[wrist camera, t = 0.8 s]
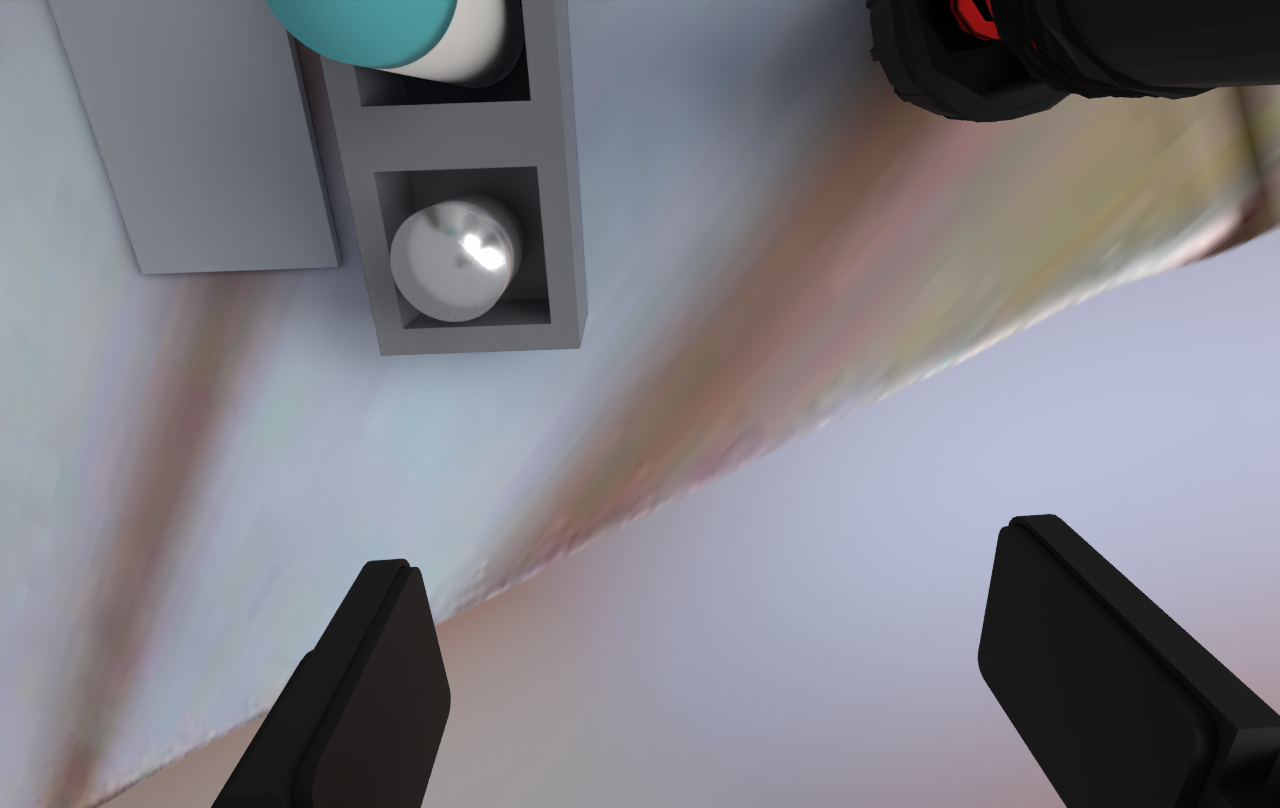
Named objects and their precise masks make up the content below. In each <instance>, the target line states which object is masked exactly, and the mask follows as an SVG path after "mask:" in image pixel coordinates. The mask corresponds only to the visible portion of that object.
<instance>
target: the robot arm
mask: <svg viewBox="0 0 1280 808" xmlns="http://www.w3.org/2000/svg"><path fill="white" fill-rule="evenodd" d="M978 664H979V669H980V672H981V674H982V677H983V678H984V680H985V682H986V683H987V685H988V687H989V688H990V690H991V691H992V693H993V694H994V696H995V697H996V699H997V700H998V702H999V704H1000V705H1001V706H1002V708H1003V710H1004V711H1005V713H1006V714H1007V716H1008V717H1009V719H1010V720H1011V722H1012V724H1013V725H1014V727H1015V728H1016V730H1017V731H1018V733H1019V734H1020V736H1021V737H1022V739H1023V741H1024V742H1025V744H1026V745H1027V747H1028V748H1029V750H1030V751H1031V753H1032V755H1033V756H1034V758H1035V759H1036V761H1037V762H1038V764H1039V765H1040V767H1041V768H1042V770H1043V771H1044V773H1045V774H1046V776H1047V778H1048V779H1049V781H1050V782H1051V784H1052V785H1053V787H1054V788H1055V790H1056V791H1057V793H1058V795H1059V796H1060V798H1061V799H1062V801H1063V802H1064V804H1065V805H1066V807H1067V808H1280V715H1278V714H1277V713H1276V712H1275V711H1274V710H1273V709H1272V708H1271V707H1270V706H1268V705H1267V704H1266V703H1265V702H1264V701H1263V700H1262V699H1261V698H1260V697H1258V696H1257V695H1256V694H1255V693H1254V692H1253V691H1252V690H1251V689H1250V688H1248V687H1247V686H1246V685H1245V684H1244V683H1243V682H1242V681H1241V680H1240V679H1238V678H1237V677H1236V676H1235V675H1234V674H1233V673H1232V672H1231V671H1230V670H1228V669H1227V668H1226V667H1225V666H1224V665H1223V664H1222V663H1221V662H1220V661H1218V660H1217V659H1216V658H1215V657H1214V656H1213V655H1212V654H1211V653H1210V652H1208V651H1207V650H1206V649H1205V648H1204V647H1203V646H1202V645H1201V644H1200V643H1198V642H1197V641H1196V640H1195V639H1194V638H1193V637H1192V636H1191V635H1189V634H1188V633H1187V632H1186V631H1185V630H1184V629H1183V628H1182V627H1181V626H1180V625H1178V624H1177V623H1176V622H1175V621H1174V620H1173V619H1172V618H1171V617H1169V616H1168V615H1167V614H1166V613H1165V612H1164V611H1163V610H1162V609H1161V608H1159V607H1158V606H1157V605H1156V604H1155V603H1154V602H1153V601H1152V600H1150V599H1149V598H1148V597H1147V596H1146V595H1145V594H1144V593H1143V592H1142V591H1141V590H1139V589H1138V588H1137V587H1136V586H1135V585H1134V584H1133V583H1132V582H1130V581H1129V580H1128V579H1127V578H1126V577H1125V576H1124V575H1123V574H1122V573H1121V572H1119V571H1118V570H1117V569H1116V568H1115V567H1114V566H1113V565H1112V564H1110V563H1109V562H1108V561H1107V560H1106V559H1105V558H1104V557H1103V556H1102V555H1101V554H1099V553H1098V552H1097V551H1096V550H1095V549H1094V548H1093V547H1092V546H1091V545H1089V544H1088V543H1087V542H1086V541H1085V540H1084V539H1083V538H1082V537H1081V536H1079V535H1078V534H1077V533H1076V532H1075V531H1074V530H1073V529H1071V528H1070V527H1069V526H1068V525H1067V524H1066V523H1065V522H1064V521H1063V520H1062V519H1060V518H1059V517H1057V516H1056V515H1052V514H1045V515H1030V516H1016V517H1014V518H1012V520H1011V521H1010V522H1009V526H1005V527H1003V528H1002V529H1001V530H1000V533H999V535H998V541H997V547H996V553H995V559H994V564H993V570H992V576H991V582H990V587H989V593H988V599H987V604H986V610H985V616H984V622H983V628H982V634H981V640H980V645H979V651H978ZM450 700H451V696H450V688H449V684H448V680H447V676H446V672H445V668H444V664H443V660H442V655H441V652H440V647H439V644H438V639H437V635H436V631H435V627H434V623H433V619H432V615H431V611H430V607H429V602H428V598H427V594H426V590H425V586H424V582H423V578H422V574H421V571H420V569H419V568H418V567H410V565H409V563H408V562H407V560H405V559H391V560H377V561H369V562H367V563H366V564H365V565H364V567H363V568H362V570H361V572H360V573H359V575H358V577H357V578H356V580H355V582H354V583H353V585H352V587H351V588H350V590H349V592H348V593H347V595H346V597H345V598H344V600H343V602H342V603H341V605H340V607H339V608H338V610H337V612H336V613H335V615H334V616H333V618H332V620H331V621H330V623H329V625H328V626H327V628H326V630H325V631H324V633H323V635H322V636H321V638H320V640H319V641H318V643H317V645H316V646H315V648H314V649H313V650H312V651H310V652H308V653H307V654H306V655H305V656H304V658H303V659H302V660H301V661H300V663H299V665H298V666H297V668H296V670H295V671H294V673H293V674H292V676H291V678H290V679H289V681H288V683H287V684H286V686H285V687H284V689H283V691H282V692H281V694H280V696H279V697H278V699H277V701H276V702H275V704H274V705H273V707H272V709H271V710H270V712H269V714H268V715H267V717H266V718H265V720H264V722H263V723H262V725H261V727H260V728H259V730H258V732H257V733H256V735H255V736H254V738H253V740H252V741H251V743H250V745H249V746H248V748H247V749H246V751H245V753H244V755H243V756H242V758H241V759H240V761H239V763H238V764H237V766H236V768H235V769H234V771H233V772H232V774H231V776H230V777H229V779H228V780H227V782H226V784H225V785H224V787H223V789H222V790H221V792H220V794H219V795H218V797H217V799H216V800H215V802H214V803H213V805H212V807H211V808H421V805H422V801H423V797H424V795H425V791H426V788H427V784H428V781H429V778H430V775H431V772H432V768H433V765H434V762H435V758H436V755H437V752H438V749H439V745H440V742H441V739H442V735H443V732H444V729H445V726H446V722H447V719H448V715H449V711H450V702H451V701H450Z"/></svg>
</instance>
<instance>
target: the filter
mask: <svg viewBox="0 0 1280 808" xmlns="http://www.w3.org/2000/svg"><path fill="white" fill-rule="evenodd" d="M866 7H867V8H868V9H870V10H871V14H870V23H871V29H872V35H873V41H874V47H873V48H872V49H871V50H870V53H871V56H872V59H873V62H875V61H880V63H881V65H882V67H883V70H884V72H885V74H886V76H887V78H888V80H889V82H890V83H891V84H892V85H893V86H894V92H895V93H896V94H897V95H898V96H899V97H900V98H901V99H902V100H903V101H904V102H911V103H912V104H914V105H916V106H918V107H921V108H923V109H925V110H928V111H930V112H932V113H935V114H937V115H943V116H944V117H946V118H948V119H955V120H967V121H975V122H996V121H1003V120H1012V119H1016V118H1019V117H1023V116H1027V115H1031V114H1034V113H1038V112H1042V111H1045V110H1049V109H1051V108H1052V107H1053V106H1055V105H1056V104H1057V103H1059V102H1060V101H1061V100H1063V99H1064V98H1066V97H1067V96H1068V95H1070V94H1071V93H1074V94H1079V95H1081V96H1084V97H1086V98H1088V99H1090V98H1101V97H1107V96H1112V97H1115V98H1116V97H1128V98H1141V97H1144V96H1150V97H1156V98H1157V97H1165V98H1169V99H1173V100H1174V99H1180V98H1186V97H1192V96H1196V95H1199V94H1202V93H1204V92H1207V91H1209V90H1212V89H1215V88H1217V87H1233V86H1256V85H1279V84H1280V0H867V2H866Z"/></svg>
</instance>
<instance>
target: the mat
mask: <svg viewBox="0 0 1280 808" xmlns="http://www.w3.org/2000/svg"><path fill="white" fill-rule="evenodd" d="M48 1H49V4H50V7H51V10H52V12H53V15H54V18H55V21H56V24H57V27H58V30H59V33H60V36H61V39H62V42H63V45H64V48H65V50H66V53H67V56H68V59H69V62H70V65H71V68H72V71H73V74H74V77H75V80H76V83H77V85H78V88H79V91H80V94H81V97H82V100H83V103H84V106H85V109H86V112H87V115H88V118H89V121H90V123H91V126H92V129H93V132H94V135H95V138H96V141H97V144H98V147H99V150H100V153H101V156H102V158H103V161H104V164H105V167H106V170H107V173H108V176H109V179H110V182H111V185H112V188H113V191H114V194H115V196H116V199H117V202H118V205H119V208H120V211H121V214H122V217H123V220H124V223H125V226H126V229H127V231H128V234H129V237H130V240H131V243H132V246H133V249H134V252H135V255H136V258H137V261H138V264H139V267H140V269H141V272H142V274H164V273H191V272H219V271H247V270H274V269H302V268H329V267H340V266H342V265H343V262H342V258H341V253H340V249H339V244H338V239H337V235H336V230H335V225H334V221H333V216H332V212H331V207H330V202H329V198H328V193H327V189H326V184H325V179H324V175H323V170H322V165H321V161H320V156H319V152H318V147H317V142H316V138H315V133H314V128H313V124H312V119H311V115H310V110H309V105H308V101H307V96H306V91H305V87H304V82H303V78H302V73H301V68H300V64H299V59H298V55H297V50H296V45H295V41H294V36H293V35H292V34H291V33H290V32H289V31H288V30H287V29H286V28H285V27H284V26H283V25H282V24H281V22H280V21H279V20H278V19H277V18H276V16H275V15H274V14H273V12H272V11H271V9H270V8H269V6H268V5H267V3H266V1H265V0H48Z"/></svg>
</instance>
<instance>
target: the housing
mask: <svg viewBox="0 0 1280 808" xmlns="http://www.w3.org/2000/svg"><path fill="white" fill-rule="evenodd" d="M522 9H523V20H524V31H525V42H526V53H527V64H528V74H529V85H530V96H531V101H507V102H479V103H452V104H424V105H409V104H408V98H407V92H406V86H405V79H404V75H403V74H398V73H393V72H388V71H383V70H378V69H373V68H368V67H363V66H358V65H353V64H348V63H342V62H339V61H336V60H333V59H330V58H327V57H325V56H323V55H321V54H320V59H321V64H322V69H323V73H324V78H325V83H326V88H327V93H328V98H329V103H330V108H331V113H332V117H333V122H334V127H335V132H336V137H337V142H338V147H339V152H340V157H341V161H342V166H343V171H344V176H345V181H346V186H347V191H348V196H349V201H350V206H351V210H352V215H353V220H354V225H355V230H356V235H357V240H358V245H359V250H360V254H361V259H362V264H363V269H364V274H365V279H366V284H367V289H368V294H369V298H370V303H371V308H372V313H373V318H374V323H375V328H376V333H377V338H378V343H379V347H380V352H381V356H385V355H412V354H440V353H467V352H495V351H522V350H550V349H578V348H580V347H581V342H582V337H583V333H584V328H585V323H586V319H587V314H588V306H587V291H586V276H585V262H584V247H583V232H582V217H581V202H580V187H579V172H578V158H577V143H576V128H575V113H574V98H573V83H572V68H571V54H570V39H569V24H568V9H567V0H522ZM470 192H472V193H482V194H486V195H489V196H491V197H494V198H496V199H498V200H499V201H501V202H502V203H504V204H505V205H506V206H507V207H508V208H509V209H510V210H511V211H512V212H513V213H514V214H515V216H516V217H517V219H518V221H519V222H520V224H521V227H522V229H523V232H524V236H525V244H526V250H525V257H524V261H523V263H522V266H521V268H520V270H519V272H518V273H517V274H516V276H515V277H514V278H513V280H512V281H511V283H510V284H509V285H508V287H507V288H506V289H505V291H504V292H503V293H502V295H501V296H500V298H499V299H498V300H497V302H496V303H495V304H494V305H493V306H492V307H491V308H490V309H489V310H488V311H487V312H485V313H484V314H482V315H480V316H479V317H476V318H474V319H471V320H467V321H460V322H449V321H442V320H439V319H435V318H433V317H430V316H428V315H426V314H424V313H422V312H421V311H419V310H418V309H417V308H415V307H414V306H413V305H412V304H411V303H410V302H409V301H408V300H407V299H406V298H405V297H404V296H403V294H402V293H401V291H400V290H399V288H398V286H397V284H396V282H395V280H394V277H393V274H392V270H391V263H390V252H391V245H392V242H393V239H394V237H395V234H396V232H397V231H398V229H399V228H400V226H401V225H402V224H403V223H404V222H405V221H406V220H407V219H408V218H409V217H410V216H412V215H413V214H415V213H417V212H419V211H421V210H423V209H426V208H428V207H430V206H432V205H435V204H437V203H439V202H442V201H444V200H446V199H448V198H451V197H453V196H455V195H458V194H462V193H470Z"/></svg>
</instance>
